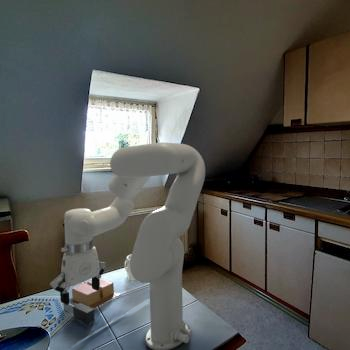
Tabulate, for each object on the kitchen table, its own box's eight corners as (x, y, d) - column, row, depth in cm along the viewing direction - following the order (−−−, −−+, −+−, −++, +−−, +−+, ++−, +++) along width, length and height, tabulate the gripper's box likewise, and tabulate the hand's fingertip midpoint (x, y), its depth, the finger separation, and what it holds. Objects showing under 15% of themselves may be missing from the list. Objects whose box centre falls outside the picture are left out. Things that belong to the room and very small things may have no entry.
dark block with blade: (94, 323, 86) (94, 309, 86) (87, 327, 84) (86, 313, 84) (68, 310, 94) (67, 296, 93) (60, 313, 92) (59, 300, 91)
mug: (132, 271, 124) (131, 250, 123) (152, 276, 120) (151, 253, 119) (117, 279, 116) (116, 256, 115) (138, 284, 112) (137, 260, 111)
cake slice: (100, 300, 98) (99, 289, 98) (88, 306, 94) (87, 294, 94) (84, 293, 103) (83, 282, 102) (72, 299, 99) (71, 288, 98)
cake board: (121, 296, 103) (120, 294, 103) (90, 312, 92) (90, 310, 92) (99, 288, 109) (99, 285, 109) (68, 302, 99) (68, 300, 99)
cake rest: (114, 293, 103) (113, 282, 103) (103, 298, 99) (102, 287, 99) (98, 287, 108) (98, 276, 108) (87, 292, 104) (87, 281, 104)
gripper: (56, 258, 76) (58, 313, 77) (111, 240, 91) (112, 287, 93) (42, 253, 79) (45, 306, 81) (98, 237, 94) (99, 282, 96)
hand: (81, 296), depth 87 cm, fingers open, 9 cm apart
